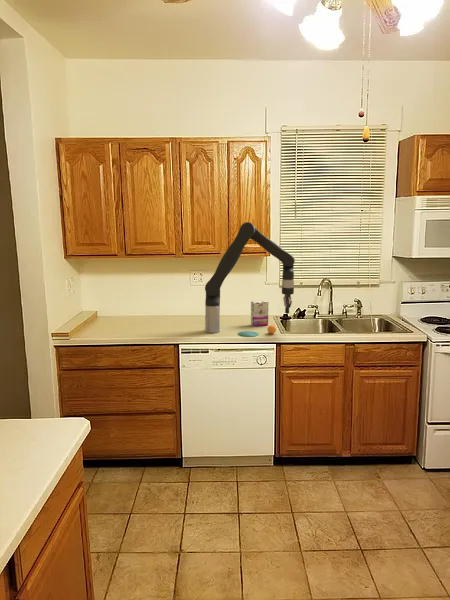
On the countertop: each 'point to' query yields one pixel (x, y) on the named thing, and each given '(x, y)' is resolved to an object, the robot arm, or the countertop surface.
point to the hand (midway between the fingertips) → (287, 313)
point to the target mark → (248, 334)
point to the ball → (271, 329)
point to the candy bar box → (259, 313)
